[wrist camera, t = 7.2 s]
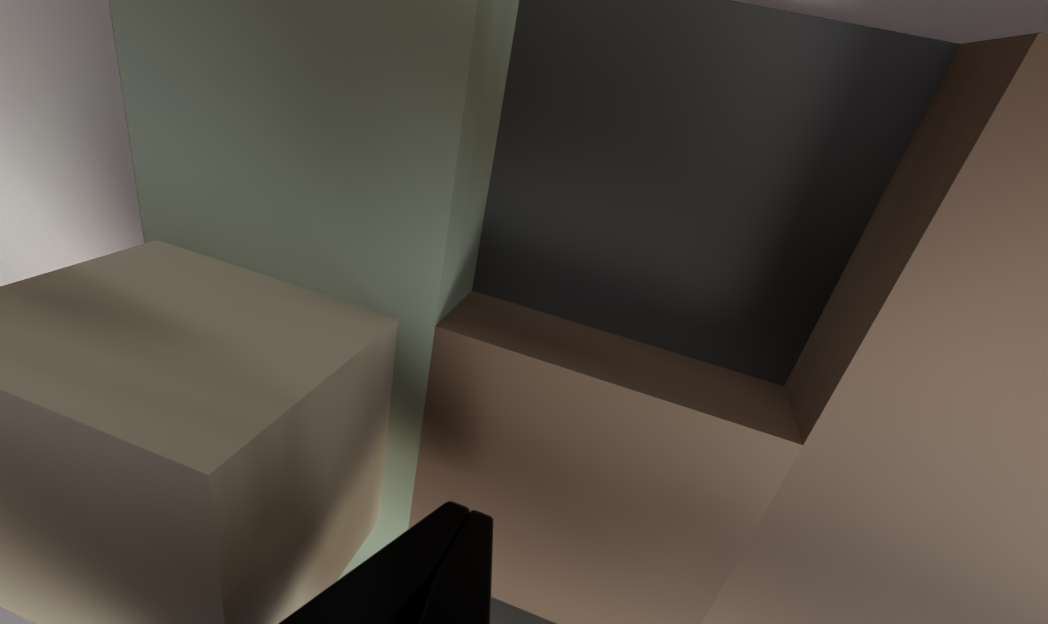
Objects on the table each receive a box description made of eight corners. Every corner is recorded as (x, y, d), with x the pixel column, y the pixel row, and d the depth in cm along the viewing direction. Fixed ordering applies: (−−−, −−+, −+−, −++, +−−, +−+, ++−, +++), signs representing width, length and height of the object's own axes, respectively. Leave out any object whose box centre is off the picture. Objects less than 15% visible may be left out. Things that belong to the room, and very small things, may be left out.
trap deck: (1000, 878, 13) (1050, 1003, 11) (250, 553, 17) (198, 609, 15) (1997, 244, 5) (2648, 325, 4) (205, -96, 9) (88, -140, 7)
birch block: (378, 521, 11) (235, 724, 8) (184, 442, 12) (-26, 593, 8) (398, 319, 9) (208, 474, 5) (157, 239, 10) (-144, 330, 6)
